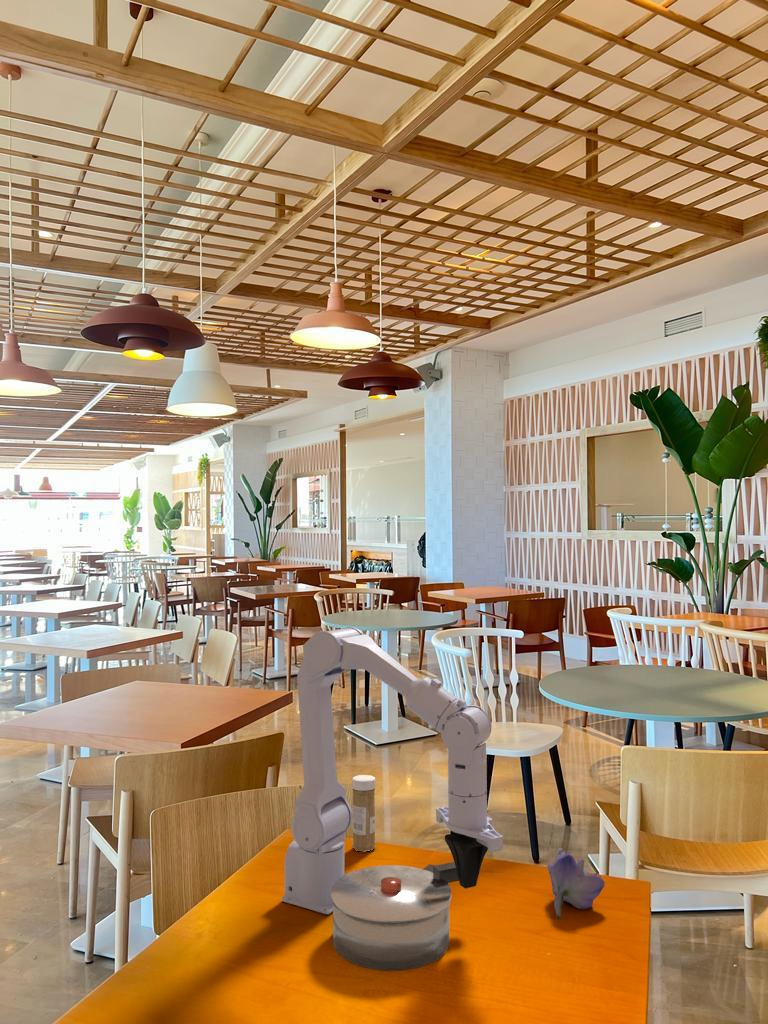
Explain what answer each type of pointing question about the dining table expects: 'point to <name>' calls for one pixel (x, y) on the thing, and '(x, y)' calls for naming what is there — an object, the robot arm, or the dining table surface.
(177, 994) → the dining table surface
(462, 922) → the dining table surface
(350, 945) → the cooker pot
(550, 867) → the flower
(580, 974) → the dining table surface
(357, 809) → the sprinkles bottle
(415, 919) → the cooker lid
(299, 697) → the robot arm
